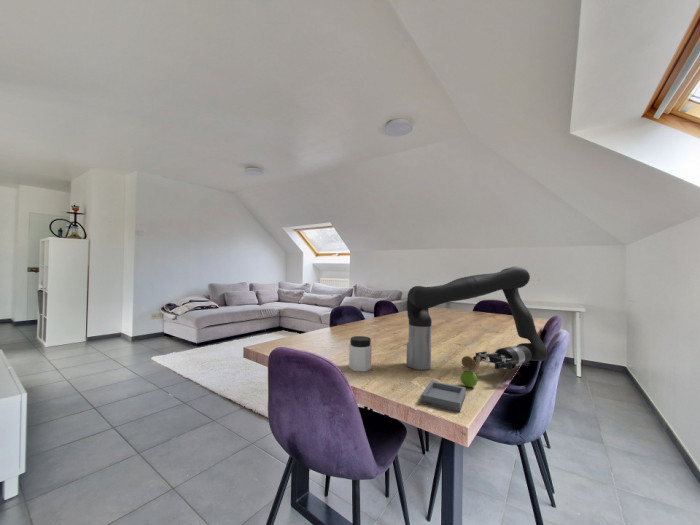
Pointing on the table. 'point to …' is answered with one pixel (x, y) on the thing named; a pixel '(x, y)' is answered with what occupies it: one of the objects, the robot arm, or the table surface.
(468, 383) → the snail figurine
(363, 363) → the jar
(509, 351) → the robot arm
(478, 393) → the table surface
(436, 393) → the tray
